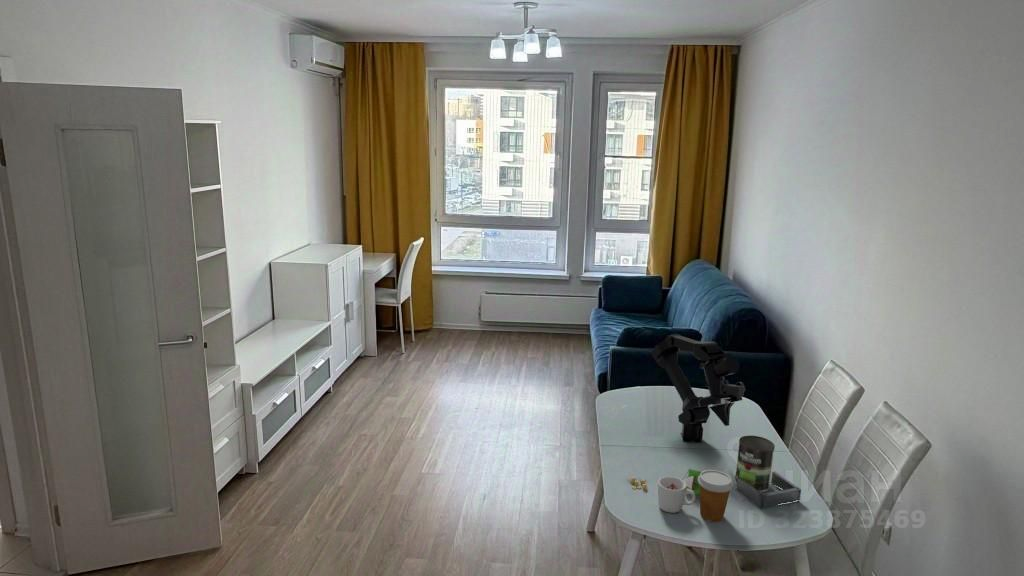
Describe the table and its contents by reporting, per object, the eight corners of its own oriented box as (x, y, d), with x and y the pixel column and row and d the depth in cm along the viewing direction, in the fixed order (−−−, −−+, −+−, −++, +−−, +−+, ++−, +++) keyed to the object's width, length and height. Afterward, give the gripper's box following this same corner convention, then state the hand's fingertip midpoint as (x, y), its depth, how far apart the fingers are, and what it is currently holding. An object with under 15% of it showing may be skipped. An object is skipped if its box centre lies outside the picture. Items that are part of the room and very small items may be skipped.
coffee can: (761, 496, 200) (766, 453, 197) (728, 484, 207) (733, 442, 204) (775, 484, 208) (780, 442, 204) (743, 472, 214) (747, 432, 211)
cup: (695, 505, 194) (697, 481, 192) (693, 520, 187) (695, 494, 185) (657, 498, 198) (659, 474, 196) (654, 512, 190) (656, 487, 188)
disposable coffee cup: (735, 523, 186) (740, 484, 183) (704, 526, 184) (708, 487, 181) (718, 505, 195) (722, 467, 192) (688, 508, 193) (692, 470, 190)
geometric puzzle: (686, 474, 208) (684, 462, 202) (708, 479, 205) (707, 467, 199) (681, 495, 204) (679, 483, 198) (704, 501, 201) (703, 489, 195)
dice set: (630, 482, 208) (630, 476, 207) (646, 484, 207) (647, 478, 206) (629, 490, 203) (630, 485, 202) (646, 492, 202) (647, 487, 201)
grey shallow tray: (736, 489, 204) (737, 477, 203) (773, 483, 208) (775, 471, 207) (760, 509, 193) (762, 496, 193) (799, 501, 198) (801, 489, 197)
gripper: (722, 374, 212) (735, 424, 208) (750, 372, 225) (762, 419, 220) (692, 382, 219) (704, 429, 215) (721, 379, 232) (732, 424, 228)
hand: (727, 425), depth 219 cm, fingers closed
